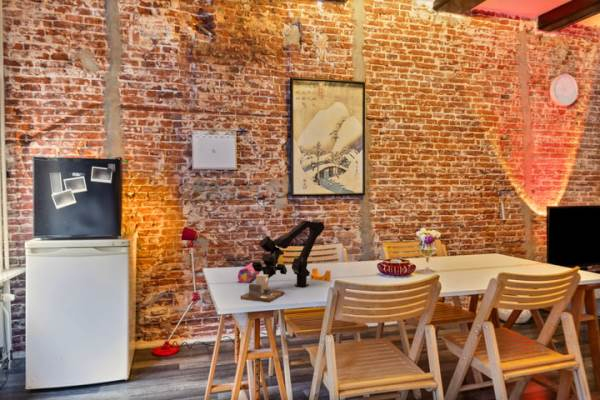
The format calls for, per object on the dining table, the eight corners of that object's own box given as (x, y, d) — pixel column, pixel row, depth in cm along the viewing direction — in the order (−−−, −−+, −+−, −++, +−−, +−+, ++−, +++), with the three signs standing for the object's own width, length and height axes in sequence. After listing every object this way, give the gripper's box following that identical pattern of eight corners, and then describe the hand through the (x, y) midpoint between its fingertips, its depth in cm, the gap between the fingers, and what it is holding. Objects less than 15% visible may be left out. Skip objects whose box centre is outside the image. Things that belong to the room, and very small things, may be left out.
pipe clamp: (310, 279, 267) (310, 269, 266) (314, 278, 270) (314, 268, 270) (326, 282, 259) (326, 271, 259) (330, 281, 262) (330, 270, 262)
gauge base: (257, 291, 234) (257, 277, 234) (284, 294, 228) (284, 280, 228) (240, 298, 217) (240, 284, 217) (269, 302, 211) (269, 287, 211)
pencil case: (252, 284, 251) (252, 268, 251) (236, 283, 253) (237, 267, 252) (261, 276, 273) (261, 262, 273) (246, 275, 274) (246, 261, 274)
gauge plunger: (259, 290, 227) (260, 273, 226) (274, 292, 224) (274, 275, 223) (255, 292, 223) (256, 275, 222) (270, 294, 219) (271, 276, 219)
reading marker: (265, 293, 221) (265, 284, 220) (270, 294, 219) (270, 285, 219) (264, 294, 219) (264, 285, 219) (269, 294, 218) (269, 286, 218)
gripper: (253, 246, 234) (243, 270, 224) (285, 249, 227) (275, 273, 217) (260, 259, 241) (250, 282, 232) (290, 261, 234) (282, 286, 225)
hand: (264, 281), depth 226 cm, fingers closed, pressing on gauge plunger
